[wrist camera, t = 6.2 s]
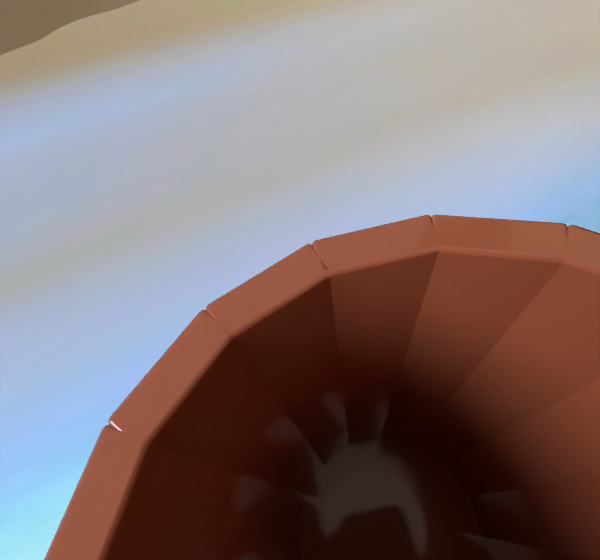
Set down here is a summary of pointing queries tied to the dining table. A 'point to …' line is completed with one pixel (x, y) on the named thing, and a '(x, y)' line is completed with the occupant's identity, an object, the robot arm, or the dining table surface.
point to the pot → (368, 408)
